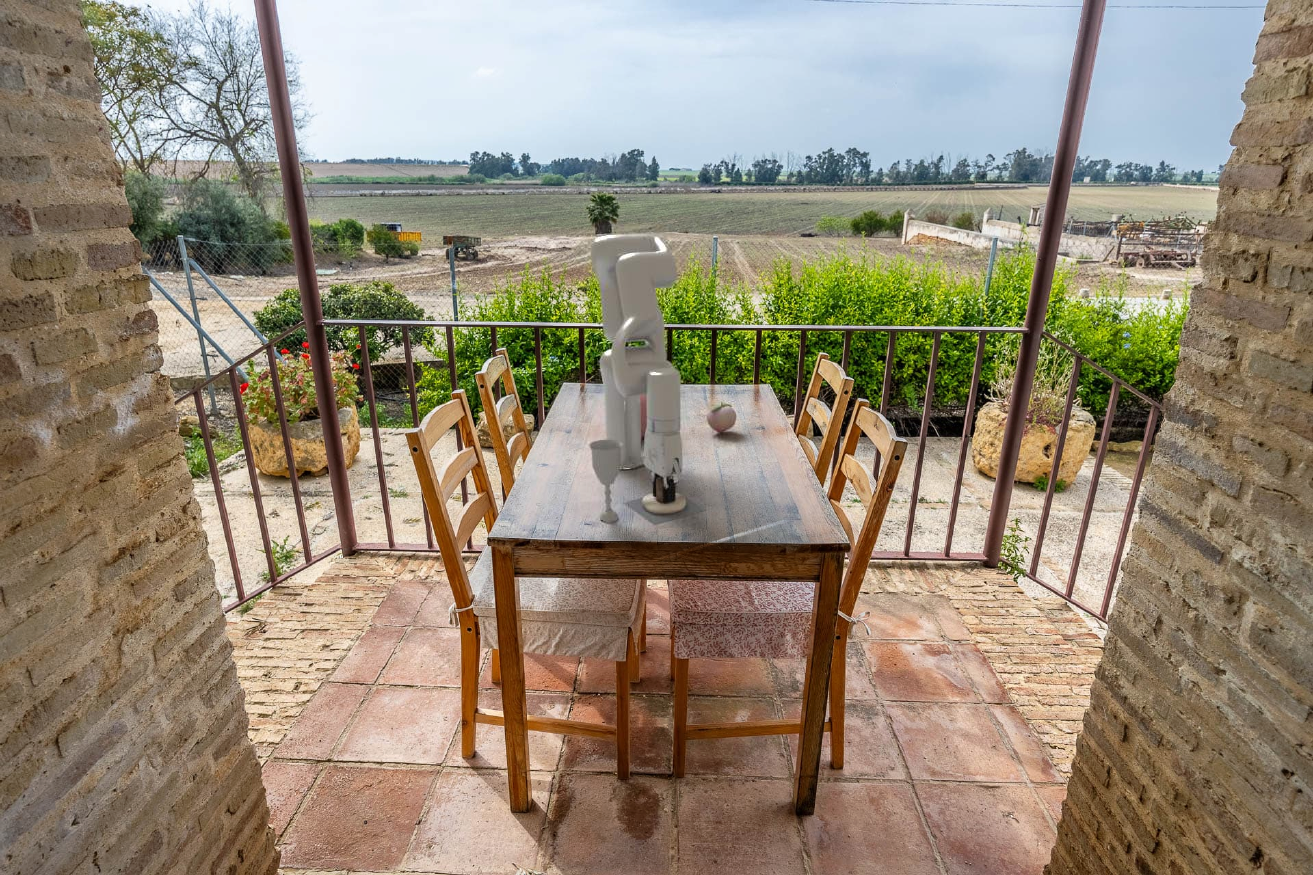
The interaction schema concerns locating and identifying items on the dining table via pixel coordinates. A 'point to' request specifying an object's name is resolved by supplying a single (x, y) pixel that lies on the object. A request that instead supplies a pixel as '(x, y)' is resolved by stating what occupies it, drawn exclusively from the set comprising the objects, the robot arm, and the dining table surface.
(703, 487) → the dining table surface
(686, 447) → the dining table surface
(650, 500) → the lid
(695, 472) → the dining table surface
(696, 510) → the mat
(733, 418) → the decorative fruit
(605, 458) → the chalice
